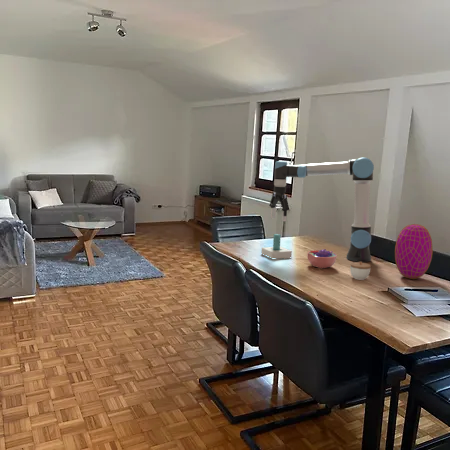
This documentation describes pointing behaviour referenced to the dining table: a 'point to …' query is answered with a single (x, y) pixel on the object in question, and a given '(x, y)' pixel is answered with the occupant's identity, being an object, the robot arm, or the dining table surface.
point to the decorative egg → (413, 251)
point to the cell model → (321, 258)
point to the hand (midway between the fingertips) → (278, 219)
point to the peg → (276, 242)
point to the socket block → (277, 252)
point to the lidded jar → (360, 270)
